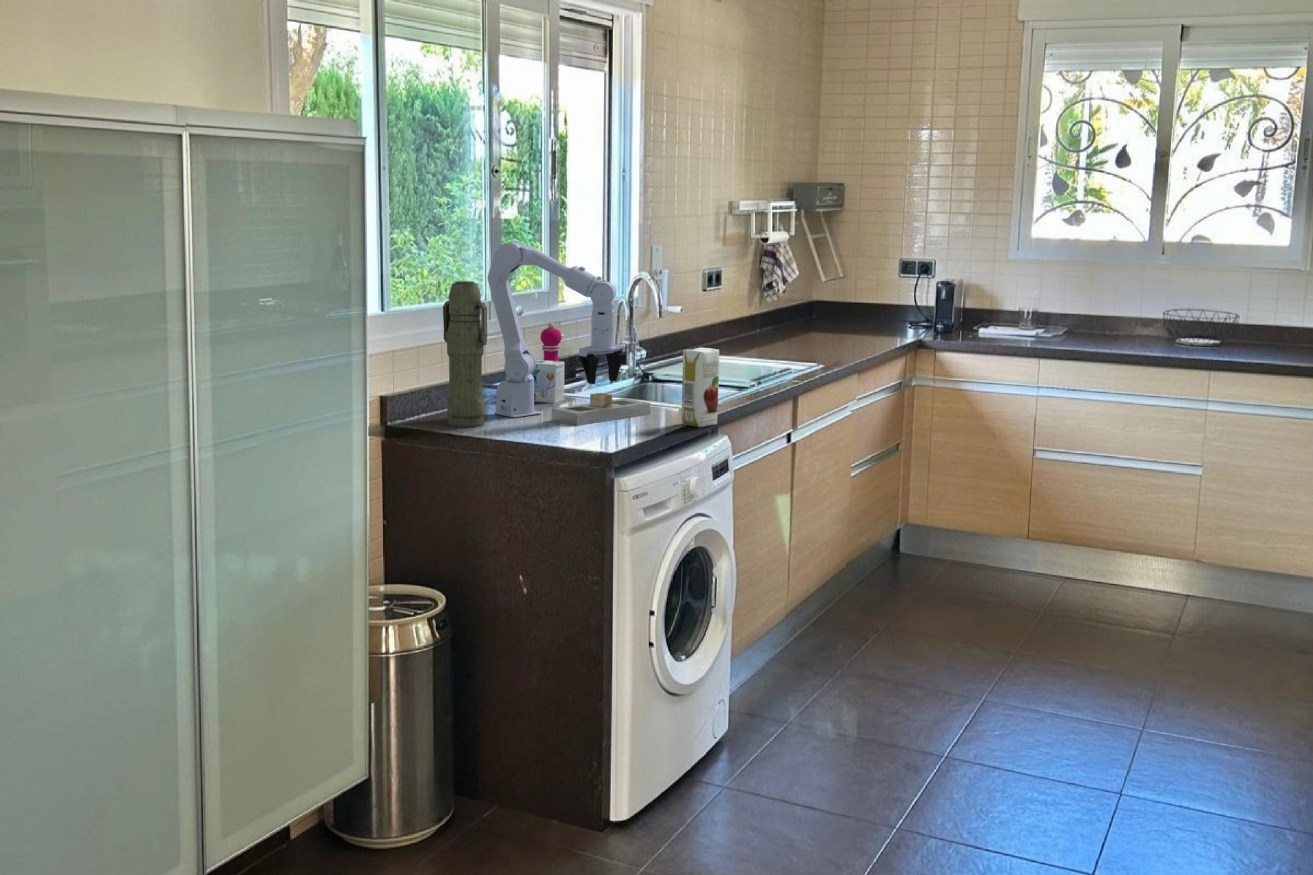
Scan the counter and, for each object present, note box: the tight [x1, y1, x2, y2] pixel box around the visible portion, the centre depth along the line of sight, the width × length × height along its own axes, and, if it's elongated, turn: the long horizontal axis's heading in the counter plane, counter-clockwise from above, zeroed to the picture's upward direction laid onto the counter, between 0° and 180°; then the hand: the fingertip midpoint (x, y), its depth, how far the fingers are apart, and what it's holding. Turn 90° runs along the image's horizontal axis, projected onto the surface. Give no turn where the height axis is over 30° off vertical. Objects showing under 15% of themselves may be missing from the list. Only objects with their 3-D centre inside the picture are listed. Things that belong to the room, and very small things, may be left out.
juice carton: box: [681, 347, 720, 428], centre depth 327 cm, size 8×9×19 cm
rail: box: [551, 397, 651, 427], centre depth 336 cm, size 26×10×3 cm, turn 136°
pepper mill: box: [540, 322, 563, 361], centre depth 373 cm, size 7×7×20 cm
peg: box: [589, 392, 613, 408], centre depth 336 cm, size 4×4×6 cm
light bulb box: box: [531, 359, 565, 404], centre depth 360 cm, size 11×7×11 cm, turn 73°
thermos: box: [442, 280, 488, 429], centre depth 319 cm, size 9×12×35 cm
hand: (602, 382), depth 334 cm, fingers open, 7 cm apart
